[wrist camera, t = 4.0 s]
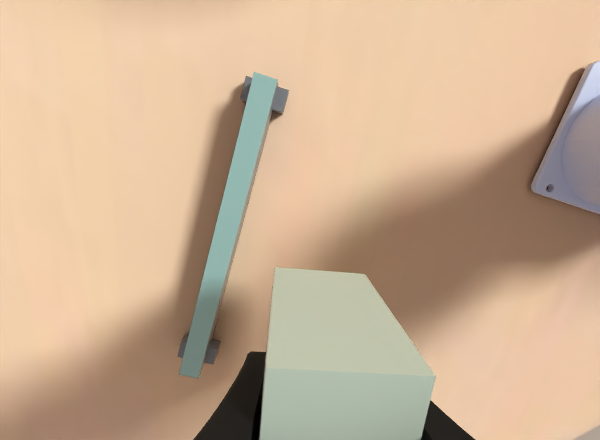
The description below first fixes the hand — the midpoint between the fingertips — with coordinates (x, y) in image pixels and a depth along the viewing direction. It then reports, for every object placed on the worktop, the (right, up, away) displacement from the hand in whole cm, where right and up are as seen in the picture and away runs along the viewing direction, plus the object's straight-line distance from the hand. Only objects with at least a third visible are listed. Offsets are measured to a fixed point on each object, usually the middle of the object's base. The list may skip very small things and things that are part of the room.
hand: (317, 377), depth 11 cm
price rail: (-5, +5, +7) cm, 10 cm away
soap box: (0, 0, +2) cm, 2 cm away
